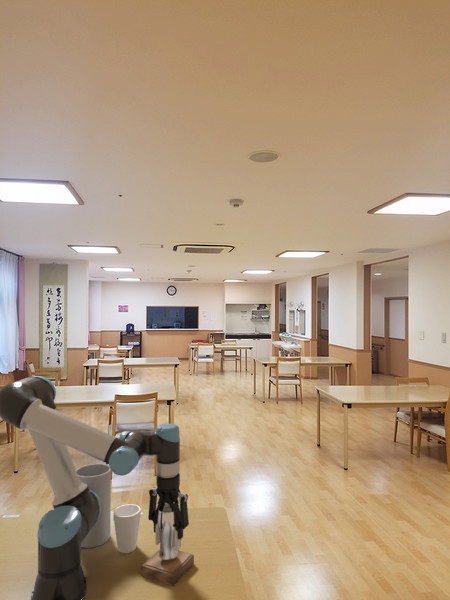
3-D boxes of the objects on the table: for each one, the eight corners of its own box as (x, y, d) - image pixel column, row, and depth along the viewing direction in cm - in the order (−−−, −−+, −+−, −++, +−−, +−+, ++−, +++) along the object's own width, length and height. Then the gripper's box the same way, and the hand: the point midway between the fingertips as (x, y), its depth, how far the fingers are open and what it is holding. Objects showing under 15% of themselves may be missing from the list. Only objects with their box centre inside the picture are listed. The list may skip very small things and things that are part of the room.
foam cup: (133, 557, 138) (133, 518, 139) (108, 554, 140) (108, 515, 141) (144, 541, 148) (144, 505, 148) (120, 539, 150) (121, 503, 150)
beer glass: (182, 550, 134) (182, 504, 135) (174, 562, 128) (174, 514, 128) (162, 547, 136) (162, 501, 137) (153, 559, 130) (153, 511, 130)
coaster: (141, 575, 129) (141, 564, 129) (163, 554, 140) (163, 545, 140) (173, 586, 124) (173, 575, 124) (193, 564, 135) (193, 554, 135)
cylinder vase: (69, 538, 150) (69, 469, 151) (101, 526, 159) (101, 461, 159) (82, 553, 141) (83, 480, 142) (116, 539, 149) (116, 470, 150)
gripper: (200, 474, 132) (200, 546, 131) (150, 464, 140) (150, 532, 140) (188, 483, 125) (188, 559, 124) (136, 472, 134) (136, 544, 133)
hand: (168, 545), depth 132 cm, fingers closed on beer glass, 7 cm apart
